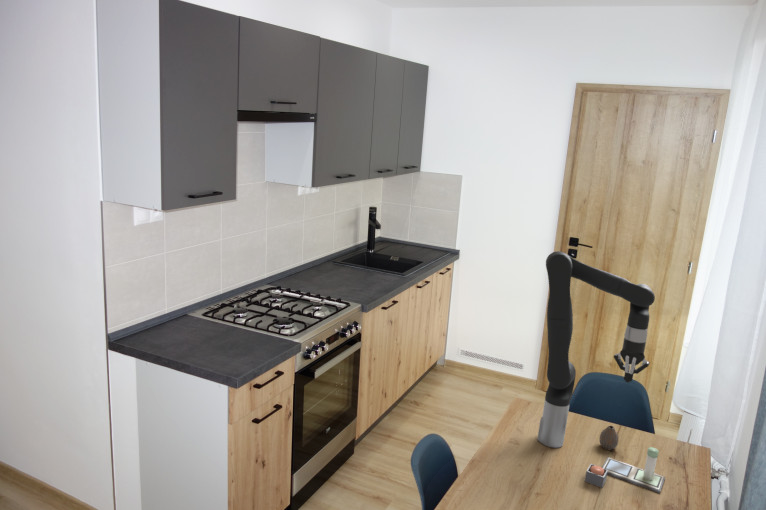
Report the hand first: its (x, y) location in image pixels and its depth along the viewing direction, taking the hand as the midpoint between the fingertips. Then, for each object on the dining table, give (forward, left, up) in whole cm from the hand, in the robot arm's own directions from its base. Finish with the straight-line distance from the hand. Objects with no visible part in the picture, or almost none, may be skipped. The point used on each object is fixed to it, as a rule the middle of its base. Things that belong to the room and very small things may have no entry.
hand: (627, 381), depth 227 cm
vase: (-3, +1, -29) cm, 30 cm away
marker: (+14, -13, -28) cm, 34 cm away
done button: (-1, -26, -28) cm, 38 cm away
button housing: (-1, -26, -29) cm, 39 cm away
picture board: (+9, -13, -29) cm, 33 cm away
